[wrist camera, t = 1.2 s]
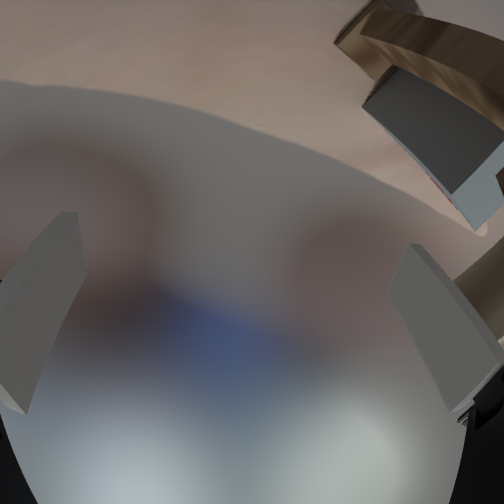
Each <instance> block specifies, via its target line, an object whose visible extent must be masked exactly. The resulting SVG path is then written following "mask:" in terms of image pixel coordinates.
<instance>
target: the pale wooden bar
mask: <svg viewBox="0 0 504 504" xmlns="http://www.w3.org/2000/svg"><path fill="white" fill-rule="evenodd" d="M453 282H454V283H455V285H456V286H457V287H458V288H459V290H460V291H461V292H462V293H463V295H464V296H465V297H466V298H467V300H468V301H469V302H470V303H471V305H472V306H473V307H474V309H475V310H476V311H477V313H478V314H479V315H480V317H481V318H482V319H483V321H484V322H485V324H486V325H487V326H488V328H489V329H490V331H491V332H492V333H493V335H494V336H495V338H496V339H497V341H498V342H499V344H500V345H501V347H502V348H504V237H503V238H502V239H501V240H500V241H499V242H497V243H496V244H495V245H494V246H493V247H492V248H491V249H490V250H489V251H488V252H487V253H486V254H484V255H483V256H482V257H481V258H480V259H479V260H478V261H476V262H475V263H474V264H473V265H472V266H471V267H469V268H468V269H467V270H466V271H465V272H463V273H462V274H461V275H460V276H459V277H457V278H456V279H455V280H454V281H453Z"/></svg>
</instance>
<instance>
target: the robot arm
mask: <svg viewBox="0 0 504 504" xmlns="http://www.w3.org/2000/svg"><path fill="white" fill-rule="evenodd" d="M86 275H87V268H86V263H85V258H84V252H83V246H82V240H81V233H80V226H79V218H78V212H64V211H61V212H60V213H59V214H58V215H57V216H56V217H55V218H54V219H53V220H52V221H51V222H50V224H49V225H48V226H47V227H46V228H45V229H44V230H43V231H42V232H41V234H40V235H39V236H38V237H37V238H36V239H35V241H33V243H32V244H31V245H30V246H29V247H28V249H27V250H26V251H25V252H24V253H23V255H22V256H21V257H20V258H19V260H18V261H17V262H16V264H15V265H14V266H13V267H12V268H11V270H10V271H9V272H8V274H7V275H6V276H5V278H4V279H3V280H0V400H1V401H2V402H3V403H4V405H6V407H7V408H9V409H12V410H14V411H17V412H20V413H22V414H25V415H27V412H28V409H29V406H30V403H31V400H32V397H33V394H34V391H35V388H36V386H37V383H38V380H39V377H40V374H41V372H42V369H43V367H44V364H45V362H46V359H47V357H48V355H49V352H50V350H51V347H52V345H53V343H54V340H55V338H56V336H57V333H58V331H59V329H60V327H61V325H62V323H63V320H64V318H65V316H66V314H67V312H68V310H69V308H70V306H71V304H72V302H73V299H74V298H75V296H76V294H77V292H78V290H79V288H80V286H81V284H82V282H83V280H84V279H85V277H86ZM385 294H386V295H387V297H388V299H389V301H390V302H391V304H392V306H393V307H394V309H395V311H396V312H397V314H398V316H399V318H400V319H401V321H402V323H403V325H404V326H405V328H406V330H407V332H408V333H409V335H410V337H411V339H412V341H413V342H414V344H415V346H416V348H417V350H418V352H419V354H420V355H421V357H422V359H423V361H424V363H425V365H426V367H427V369H428V371H429V373H430V375H431V377H432V378H433V381H434V382H435V385H436V387H437V389H438V390H439V393H440V395H441V397H442V399H443V401H444V403H445V405H446V408H447V410H448V412H449V413H451V412H454V411H456V410H459V409H462V408H463V407H464V406H465V405H466V404H467V403H468V402H469V401H470V400H471V399H472V398H473V400H474V402H475V403H474V404H473V406H471V407H470V408H469V409H468V410H467V411H466V412H465V413H463V414H462V415H461V416H460V417H459V418H458V421H457V422H458V423H460V422H461V421H462V420H463V419H464V418H465V417H468V418H467V419H466V420H465V421H464V422H463V424H462V425H464V426H467V430H466V436H465V442H464V447H463V452H462V457H461V461H460V466H459V470H458V474H457V478H456V481H455V485H454V489H453V492H452V496H451V499H450V502H449V504H504V350H503V348H502V347H501V345H500V344H499V342H498V341H497V339H496V338H495V336H494V335H493V333H492V332H491V331H490V329H489V328H488V326H487V325H486V324H485V322H484V321H483V319H482V318H481V317H480V315H479V314H478V313H477V311H476V310H475V309H474V307H473V306H472V305H471V303H470V302H469V301H468V300H467V298H466V297H465V296H464V295H463V293H462V292H461V291H460V290H459V288H458V287H457V286H456V285H455V283H454V282H453V281H452V280H451V279H450V277H449V276H448V275H447V274H446V273H445V272H444V270H443V269H442V268H441V267H440V266H439V264H438V263H437V262H436V261H435V260H434V259H433V258H432V257H431V255H429V253H428V252H427V251H426V250H425V249H424V248H423V247H422V245H419V244H411V243H408V245H407V247H406V250H405V252H404V254H403V256H402V259H401V261H400V263H399V265H398V267H397V270H396V272H395V274H394V276H393V278H392V280H391V282H390V285H389V286H388V289H387V291H386V293H385ZM0 504H38V503H37V501H36V499H35V497H34V496H33V494H32V492H31V490H30V488H29V486H28V484H27V482H26V480H25V478H24V475H23V473H22V471H21V469H20V466H19V464H18V462H17V459H16V457H15V454H14V452H13V450H12V447H11V444H10V441H9V439H8V436H7V433H6V430H5V428H4V424H3V421H2V418H1V415H0Z"/></svg>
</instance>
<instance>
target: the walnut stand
mask: <svg viewBox="0 0 504 504" xmlns="http://www.w3.org/2000/svg"><path fill="white" fill-rule="evenodd" d="M334 44H335V45H336V46H337V47H338V48H339V49H340V50H342V51H343V52H344V53H345V54H346V55H347V56H348V57H349V58H351V59H352V60H353V61H354V62H355V63H356V64H357V65H358V66H359V67H360V68H361V69H362V70H363V71H364V72H365V73H366V74H367V75H368V76H369V77H370V78H372V79H374V80H375V81H377V80H378V79H379V78H380V77H381V76H382V75H383V74H384V73H385V71H386V70H387V69H388V68H389V67H390V66H391V65H392V64H394V65H396V66H398V67H400V68H402V69H404V70H406V71H408V72H410V73H412V74H414V75H416V76H418V77H420V78H422V79H424V80H426V81H428V82H429V83H431V84H433V85H435V86H437V87H438V88H440V89H442V90H444V91H445V92H447V93H449V94H450V95H452V96H454V97H455V98H457V99H459V100H460V101H462V102H463V103H465V104H466V105H468V106H469V107H471V108H472V109H474V110H475V111H477V112H478V113H480V114H481V115H483V116H484V117H485V118H487V119H488V120H490V121H491V122H492V123H494V124H495V125H496V126H498V127H499V128H500V129H502V130H503V131H504V41H502V40H500V39H497V38H495V37H492V36H489V35H487V34H484V33H481V32H478V31H475V30H472V29H469V28H466V27H462V26H459V25H455V24H452V23H448V22H444V21H440V20H436V19H432V18H427V17H423V16H418V15H413V14H407V13H401V12H395V11H393V10H392V9H391V8H390V7H389V6H388V5H387V4H386V3H385V2H384V1H383V0H375V1H374V2H373V3H372V4H371V5H370V6H369V7H368V8H367V9H366V10H365V11H364V12H363V13H362V14H361V15H360V16H359V17H358V18H357V19H356V20H355V21H354V22H353V23H352V24H351V25H350V27H349V28H348V29H347V30H346V31H345V32H344V33H343V34H342V35H341V36H340V37H339V38H338V39H337V40H336V41H335V42H334ZM495 176H496V179H497V181H498V184H499V186H500V189H501V191H502V194H503V197H504V167H503V168H502V169H501V170H500V171H499V172H498V173H497V174H496V175H495Z"/></svg>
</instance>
